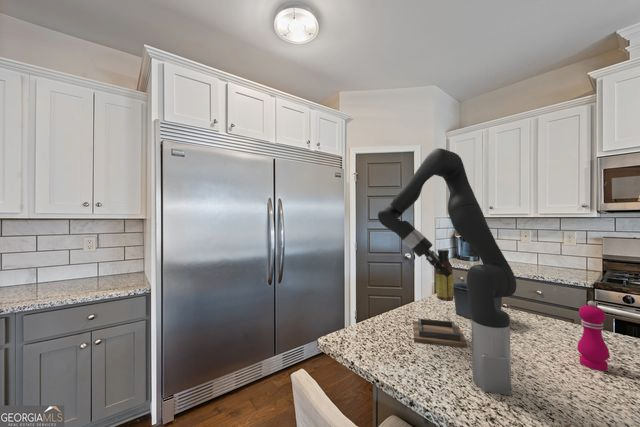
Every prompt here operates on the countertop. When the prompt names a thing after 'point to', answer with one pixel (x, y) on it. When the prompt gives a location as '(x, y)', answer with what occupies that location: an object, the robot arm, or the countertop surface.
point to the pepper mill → (592, 338)
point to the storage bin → (466, 300)
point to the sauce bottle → (444, 278)
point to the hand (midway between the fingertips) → (449, 273)
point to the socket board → (438, 333)
